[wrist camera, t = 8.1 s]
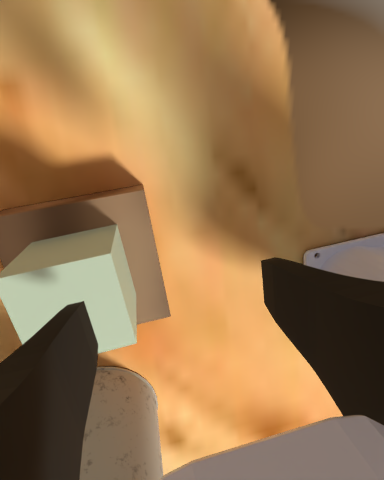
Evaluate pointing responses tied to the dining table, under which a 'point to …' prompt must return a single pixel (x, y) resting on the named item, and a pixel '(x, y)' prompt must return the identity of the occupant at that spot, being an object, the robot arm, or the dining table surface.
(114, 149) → the dining table surface
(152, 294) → the walnut slab
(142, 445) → the grey cylinder
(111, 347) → the sage cube
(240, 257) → the dining table surface
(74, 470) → the robot arm
